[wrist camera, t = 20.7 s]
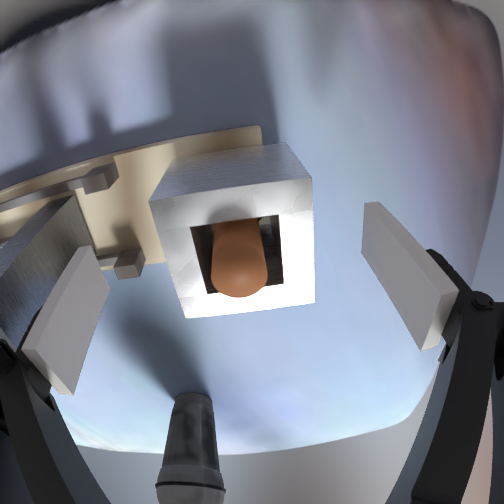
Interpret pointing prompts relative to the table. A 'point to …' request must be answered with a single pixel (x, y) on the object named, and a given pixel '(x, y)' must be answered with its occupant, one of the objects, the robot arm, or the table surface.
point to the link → (235, 208)
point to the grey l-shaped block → (37, 263)
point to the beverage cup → (191, 455)
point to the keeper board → (143, 209)
